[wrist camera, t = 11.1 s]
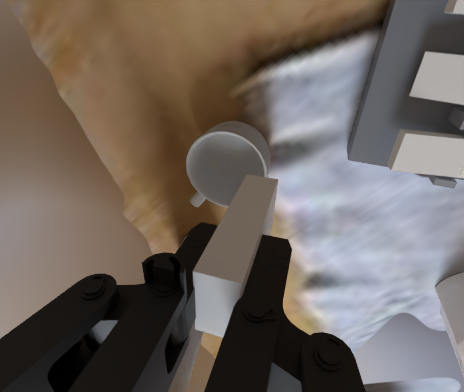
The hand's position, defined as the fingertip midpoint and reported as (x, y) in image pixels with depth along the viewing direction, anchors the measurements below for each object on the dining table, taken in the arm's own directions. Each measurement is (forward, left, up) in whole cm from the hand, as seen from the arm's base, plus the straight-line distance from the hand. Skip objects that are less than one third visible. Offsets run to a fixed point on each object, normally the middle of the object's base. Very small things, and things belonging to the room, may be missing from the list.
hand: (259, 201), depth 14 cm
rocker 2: (+3, +16, -21) cm, 27 cm away
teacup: (+10, -9, -28) cm, 32 cm away
